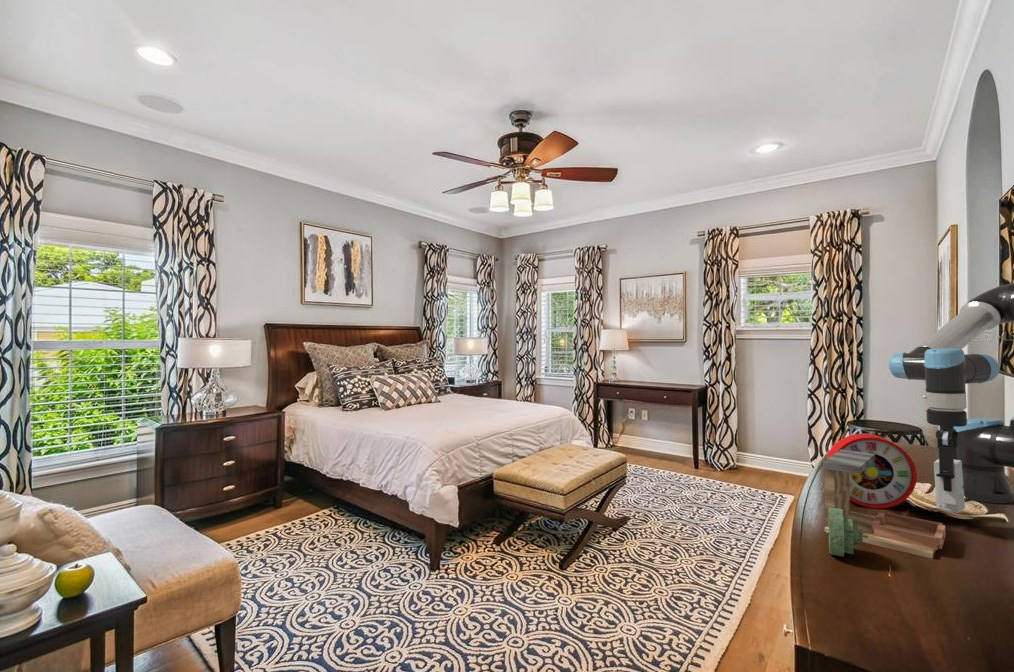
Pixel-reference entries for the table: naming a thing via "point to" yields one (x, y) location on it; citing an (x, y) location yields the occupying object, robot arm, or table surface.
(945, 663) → the table surface
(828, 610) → the table surface
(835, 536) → the decorative artifact
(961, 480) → the skincare box
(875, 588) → the table surface
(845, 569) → the table surface
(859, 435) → the toy clock
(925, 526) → the awning stand
